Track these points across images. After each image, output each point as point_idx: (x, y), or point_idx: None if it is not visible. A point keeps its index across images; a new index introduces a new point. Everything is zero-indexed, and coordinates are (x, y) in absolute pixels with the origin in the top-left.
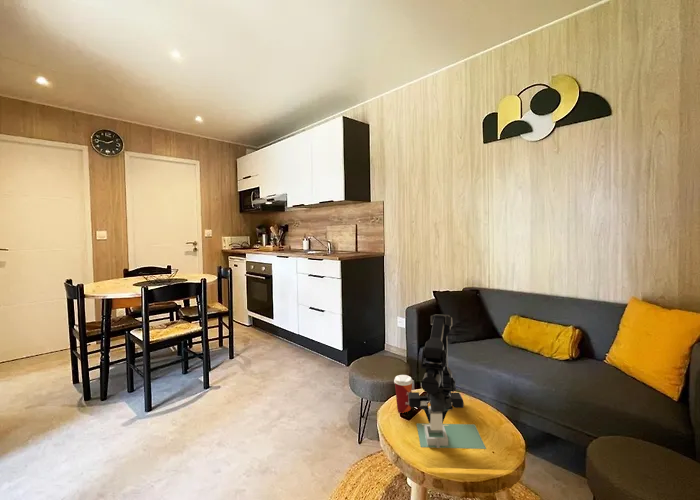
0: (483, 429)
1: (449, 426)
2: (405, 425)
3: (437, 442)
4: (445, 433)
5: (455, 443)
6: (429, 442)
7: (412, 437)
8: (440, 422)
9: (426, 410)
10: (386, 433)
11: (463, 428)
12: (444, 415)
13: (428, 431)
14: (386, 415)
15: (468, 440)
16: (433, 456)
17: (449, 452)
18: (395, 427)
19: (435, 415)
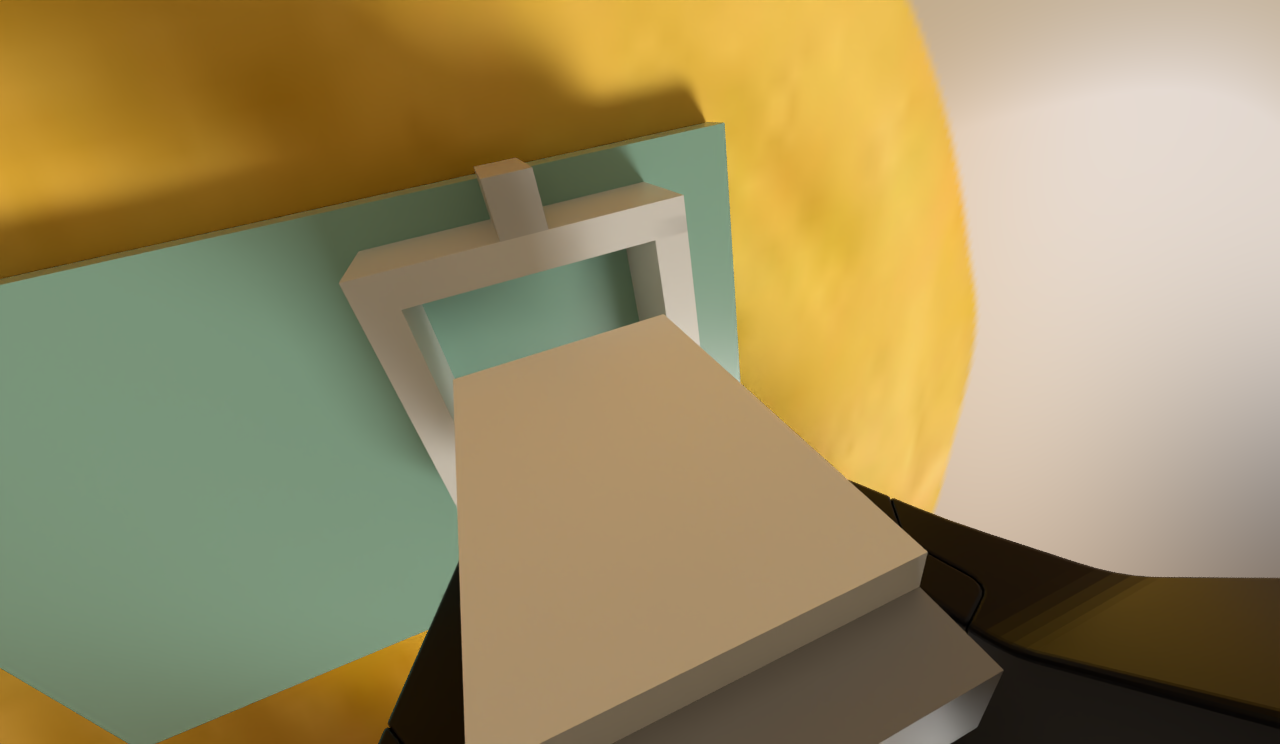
0: (19, 736)
1: (432, 593)
2: (816, 449)
3: (516, 167)
4: (422, 410)
5: (263, 341)
6: (631, 194)
7: (776, 317)
8: (511, 465)
9: (1076, 612)
10: (967, 297)
11: (257, 638)
12: (416, 723)
13: None
14: (921, 494)
15: (75, 472)
16: (542, 3)
17: (325, 161)
18: (890, 396)
19: (726, 570)
